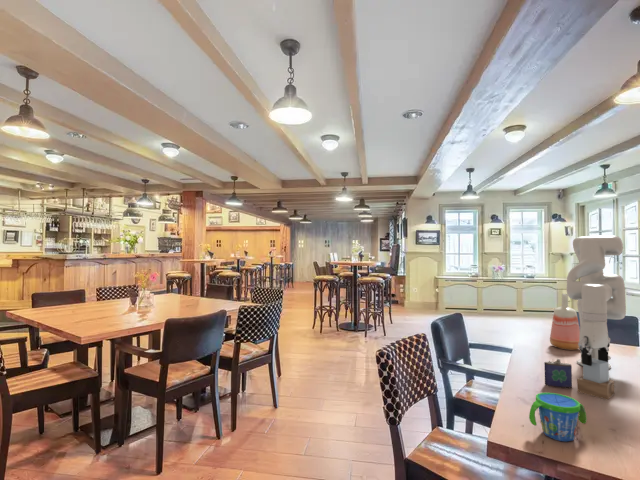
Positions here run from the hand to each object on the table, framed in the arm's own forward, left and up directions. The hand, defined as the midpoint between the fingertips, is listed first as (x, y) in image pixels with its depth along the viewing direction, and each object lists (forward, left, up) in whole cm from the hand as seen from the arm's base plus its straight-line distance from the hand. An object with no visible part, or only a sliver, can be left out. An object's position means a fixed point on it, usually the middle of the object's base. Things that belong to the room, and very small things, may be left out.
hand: (595, 362), depth 134 cm
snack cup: (+46, +16, -11) cm, 50 cm away
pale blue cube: (+1, +1, -6) cm, 6 cm away
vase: (-53, -46, -11) cm, 71 cm away
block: (+1, 0, -11) cm, 11 cm away
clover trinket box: (+8, -9, -11) cm, 16 cm away
